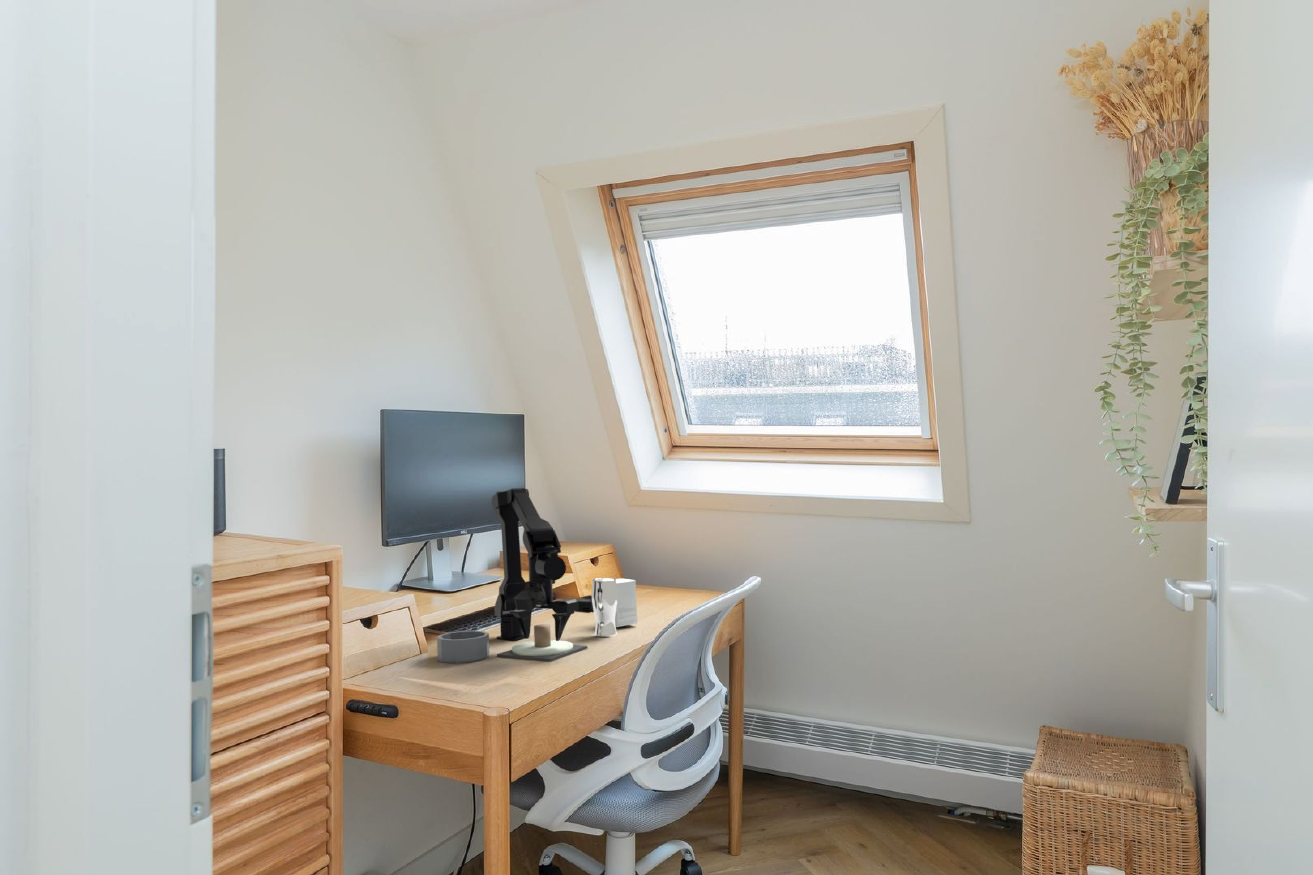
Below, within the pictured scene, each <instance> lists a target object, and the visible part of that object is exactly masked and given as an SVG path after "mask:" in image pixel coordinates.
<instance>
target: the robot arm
mask: <svg viewBox="0 0 1313 875" xmlns="http://www.w3.org/2000/svg"><path fill="white" fill-rule="evenodd" d="M491 506H492V509H493V512H494V513H493V514H494V516H495V518H496V519H497V521H498V522H499V523H500V526H501V527H500V528H501V545H502V559H503V579H502V582H501V584H500V585H499V588H498V595H497V598H496V600H495V604H494V607H493V609H494V616H496V617H499V618H500V624H499V625H500V635H498V636H496V639H497V640H499V639H500V640H510V641H511V640H512V641H513V640H514V641H516V640H521V639H523V638H525V639H529V638H530V636H531V624H532V611H533V610H535V609H545V610H546V609H547V610H552V611H553V612H554V613H552V615H551V616H552V618H553V619H554V636H555V640H556V641H559V640H560V641H561V637H562V635H563V633H564V631H565V628H566V625H567V623H568V621H569V619H570V617H571V615H573V614H575V612H578V611H577V610H579V603H578V602H577V600H576V598H566V597H565V598H561V599H557V597H556V595H554V594H553V593H554V591H553V585H555V584H556V581H558V580H560V579H562V578H563V577H564V575H565V573H566V571H567V565H566V562H565V561H564V559H563V558H562V557H560V556H559V554H560V553H562V551H561V547H562V545H561V543H560V542H561V541H560V540H559V538H558V536H557V533H556V530H555V529H554V527H553V526H552V525H551V523H550V522H549V521H547V520H545V519H543V518H541V517H540V514H539V513H538V511H537V508H536V506H535V505H534V503H533V501H532V499H531V498H530V491H529V489H528V488H525V487H514V488H513V487H512V488H509V489H506V490H505V491H503V490H501V491H496V492H495V494H494V495H492V496H491ZM519 522H520V524H521V525H522V527H523V533H522V543H523V545H524V549H526V551H527V558H528V580H527V581H525V579H524V578H523V575H522V574H523V573H522V560H521V559H522V558H521V544H520V529H519ZM556 599H557V600H556Z"/></svg>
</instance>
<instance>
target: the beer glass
mask: <svg viewBox="0 0 1313 875" xmlns="http://www.w3.org/2000/svg"><path fill="white" fill-rule="evenodd" d="M616 579H617V578H614V577H602V578H601V577H600V578H599V577H598V578H593V579H591V596H592V604H593V609H594V612H593V615H594V618H595V629H594V636H595V637H598V638H610V637H615V636H617V635H618V632H617V627H616V626H615V615H616V608H617V584H616Z"/></svg>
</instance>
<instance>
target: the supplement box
mask: <svg viewBox="0 0 1313 875" xmlns="http://www.w3.org/2000/svg"><path fill="white" fill-rule="evenodd" d="M615 579H616V584H617V608H616V615H615V626H616V628H619V627H624V626H630V625H632V626H633V625H637V624H638V615H637V614H638V611H637V610H638V607H637V586H636V585H637V582H636V580H635V579H629V578H615Z"/></svg>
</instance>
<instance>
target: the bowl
mask: <svg viewBox="0 0 1313 875" xmlns="http://www.w3.org/2000/svg"><path fill="white" fill-rule="evenodd" d="M436 645H437V646H436V649H437V651H436V652H437V659H438V661H439V662H441V663H445V664H468V663H473V662H474V663H475V662H481V661H484V660H486V659H488V658H489V655H490V634H489V632H487V631H485V630H484V631H483V630H460V631H451V632H446V633H442V634H439V635H438V636H437V637H436Z"/></svg>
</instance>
